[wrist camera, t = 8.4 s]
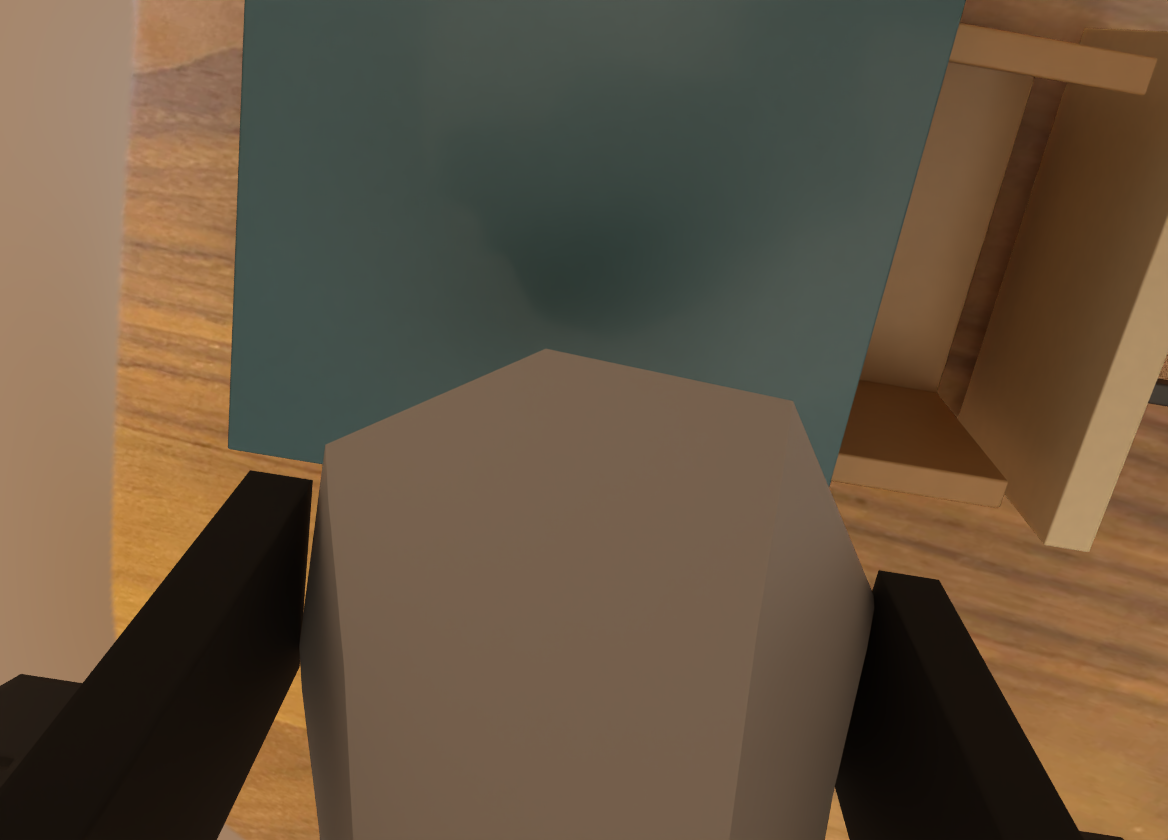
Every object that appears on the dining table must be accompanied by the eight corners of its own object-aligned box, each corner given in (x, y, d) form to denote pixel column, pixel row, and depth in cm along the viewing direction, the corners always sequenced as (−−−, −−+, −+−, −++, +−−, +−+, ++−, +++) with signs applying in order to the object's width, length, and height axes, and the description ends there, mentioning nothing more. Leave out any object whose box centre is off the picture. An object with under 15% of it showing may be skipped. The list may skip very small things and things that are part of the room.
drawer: (1269, 60, 29) (1482, 78, 22) (1115, 456, 34) (1249, 579, 27) (652, -50, 29) (662, -69, 21) (580, 367, 33) (568, 467, 26)
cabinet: (873, -32, 30) (980, -49, 21) (764, 406, 35) (813, 545, 26) (364, -124, 29) (250, -181, 20) (330, 333, 34) (226, 449, 25)
